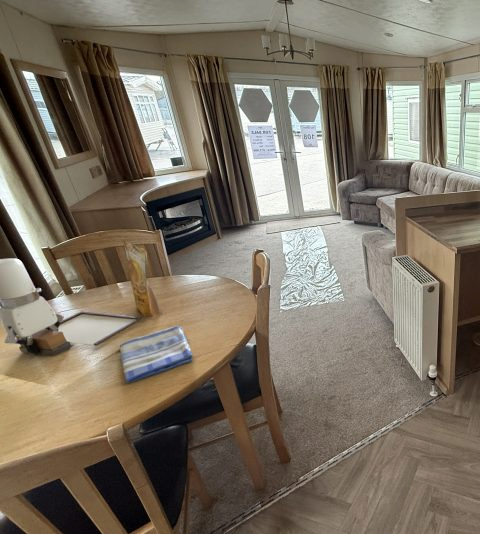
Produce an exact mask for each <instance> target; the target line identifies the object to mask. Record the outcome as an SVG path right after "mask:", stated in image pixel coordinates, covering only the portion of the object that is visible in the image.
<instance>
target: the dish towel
mask: <svg viewBox="0 0 480 534" xmlns="http://www.w3.org/2000/svg"><path fill="white" fill-rule="evenodd" d="M119 347H120V349H119V350H120V360H121V365H122V371H123V374H124V379H125V384H130V383H134V382H136V381H141V380H142V379H146V378H148V377H151V376H154V375H157V374H159V373H163V372H166V371H169V370H172V369H173V368H177V367H180V366H182V365H185V364H188V363H190V362H192V361H193V359H192V358H194V355H193V353H192V350H191V346H190V345H189V343H188V340H187V338H186V335H185V333H184V328H183V327H182V326H181V325H174V326H172V327H168V328H165V329H161V330H158V331H154V332H151V333H149V334H145V335H143V336H137V337H134V338H131V339H129V340H126V341H123V342H122V343H121V344H120V345H119Z"/></svg>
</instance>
